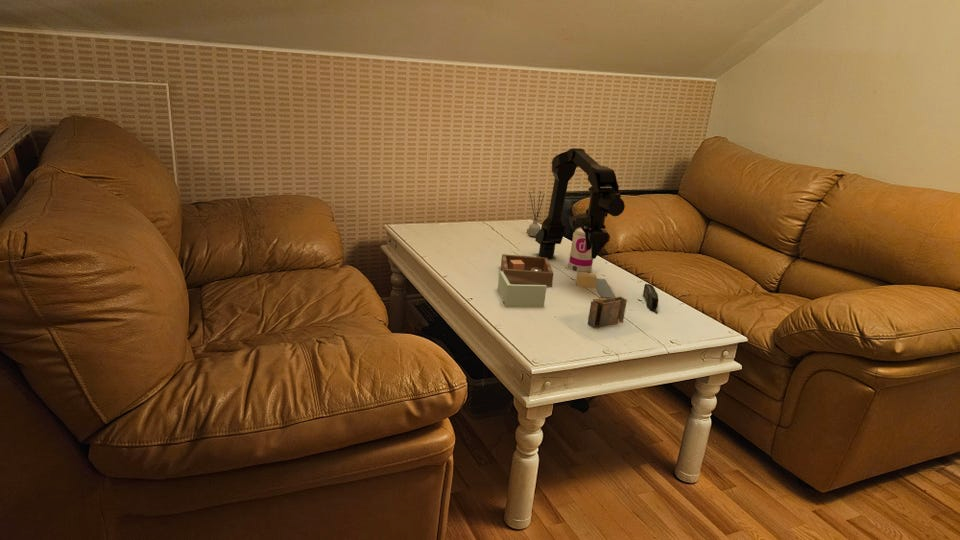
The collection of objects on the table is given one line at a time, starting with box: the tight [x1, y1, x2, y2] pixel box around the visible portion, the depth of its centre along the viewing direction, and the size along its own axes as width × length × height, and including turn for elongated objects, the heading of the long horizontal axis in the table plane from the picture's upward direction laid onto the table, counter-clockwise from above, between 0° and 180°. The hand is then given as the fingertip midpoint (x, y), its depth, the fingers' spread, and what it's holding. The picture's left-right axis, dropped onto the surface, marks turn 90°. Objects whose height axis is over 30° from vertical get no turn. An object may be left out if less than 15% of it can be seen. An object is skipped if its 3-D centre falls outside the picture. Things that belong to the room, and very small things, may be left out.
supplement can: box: [568, 228, 594, 274], centre depth 215 cm, size 8×8×15 cm
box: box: [500, 253, 554, 288], centre depth 203 cm, size 16×16×6 cm
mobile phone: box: [642, 283, 659, 314], centre depth 192 cm, size 5×3×15 cm
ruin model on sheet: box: [587, 296, 628, 329], centre depth 174 cm, size 11×3×10 cm, turn 120°
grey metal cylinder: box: [531, 267, 542, 272], centre depth 201 cm, size 4×4×4 cm
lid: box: [575, 272, 616, 299], centre depth 201 cm, size 17×17×5 cm
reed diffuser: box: [526, 188, 545, 237], centre depth 250 cm, size 10×7×20 cm
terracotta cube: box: [509, 260, 525, 270], centre depth 206 cm, size 4×4×4 cm
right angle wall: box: [497, 270, 548, 308], centre depth 186 cm, size 12×12×8 cm
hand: (590, 254), depth 197 cm, fingers open, 9 cm apart
